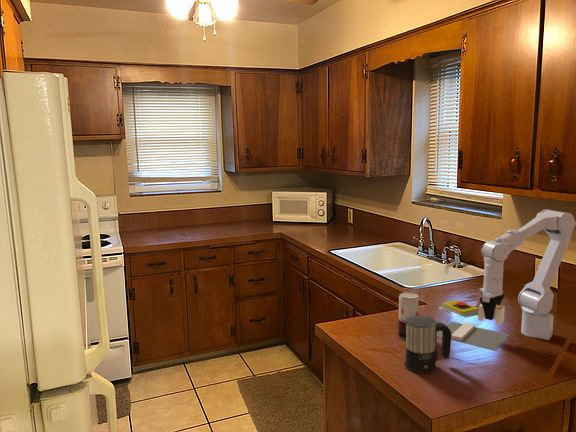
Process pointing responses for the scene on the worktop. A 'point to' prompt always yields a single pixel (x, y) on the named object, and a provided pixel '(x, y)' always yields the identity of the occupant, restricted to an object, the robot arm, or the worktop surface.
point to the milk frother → (424, 343)
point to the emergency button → (459, 308)
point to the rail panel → (475, 335)
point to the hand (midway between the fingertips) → (491, 317)
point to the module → (497, 314)
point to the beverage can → (406, 310)
